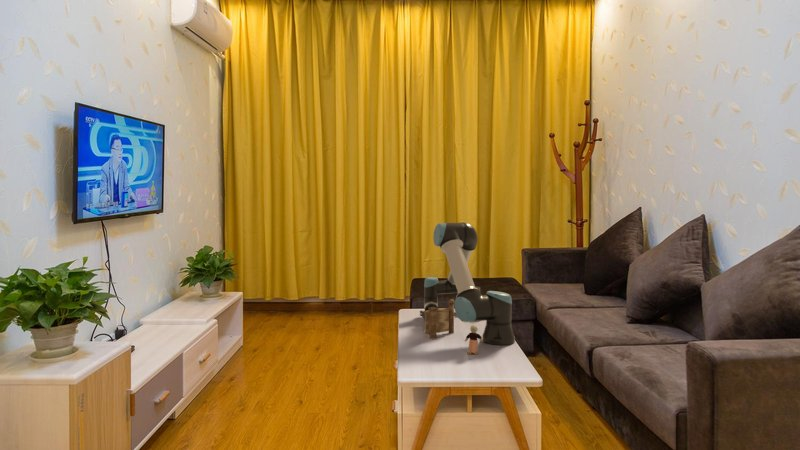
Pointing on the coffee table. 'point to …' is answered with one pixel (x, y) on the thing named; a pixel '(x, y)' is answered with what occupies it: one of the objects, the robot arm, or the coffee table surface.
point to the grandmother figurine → (473, 340)
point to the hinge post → (451, 316)
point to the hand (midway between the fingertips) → (433, 321)
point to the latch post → (432, 322)
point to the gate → (438, 320)
